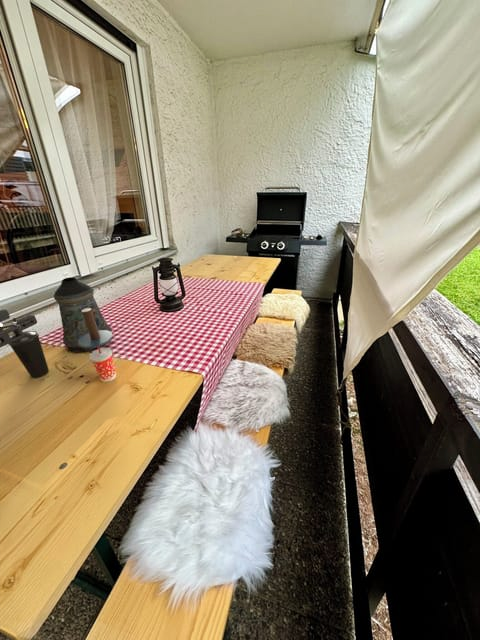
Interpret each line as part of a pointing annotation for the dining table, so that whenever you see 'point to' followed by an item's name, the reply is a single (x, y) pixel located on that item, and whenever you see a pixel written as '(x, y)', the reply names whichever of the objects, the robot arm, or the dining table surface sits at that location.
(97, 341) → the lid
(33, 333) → the drinking cup
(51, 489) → the dining table surface
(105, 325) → the beer stein
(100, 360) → the beverage cup
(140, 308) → the dining table surface
